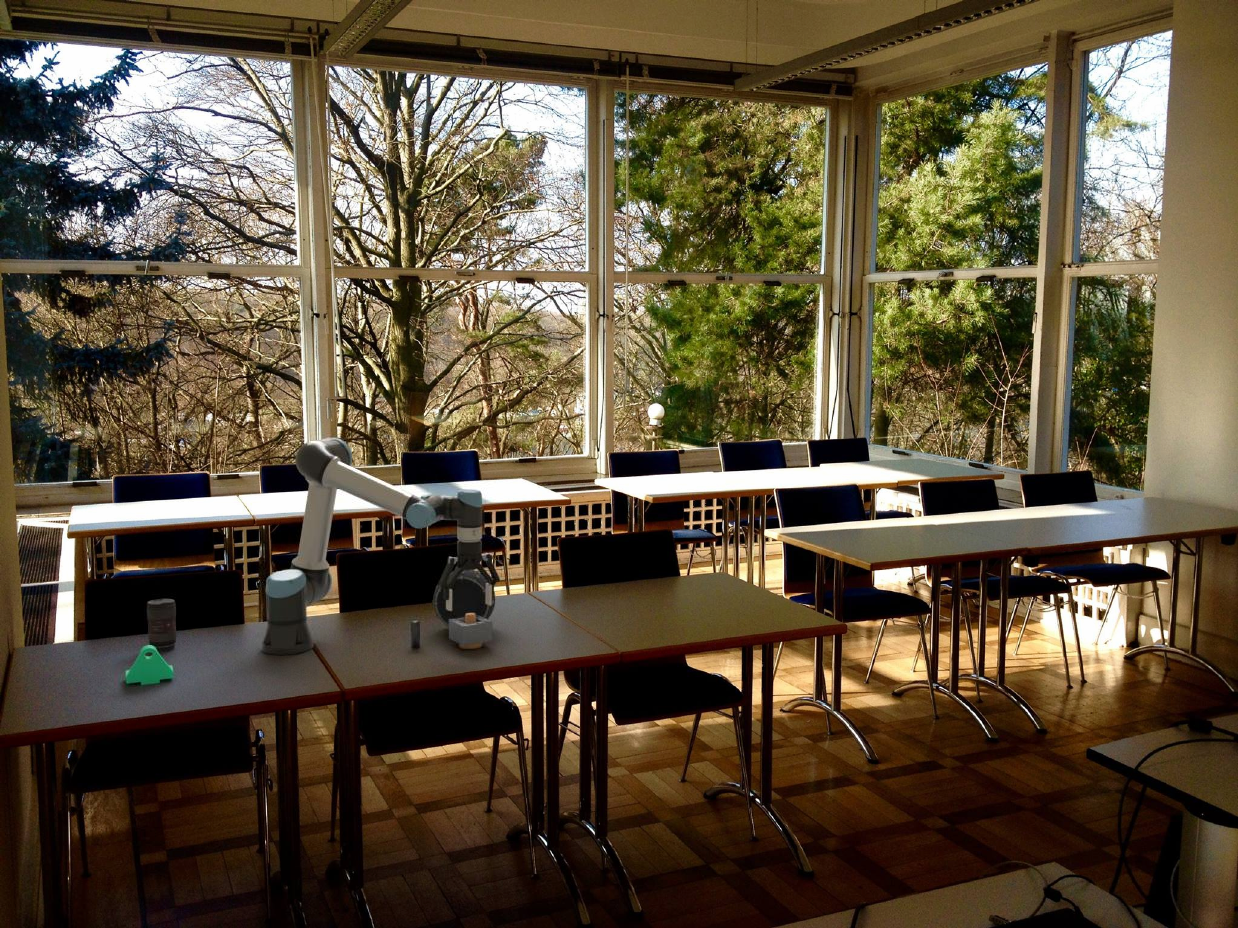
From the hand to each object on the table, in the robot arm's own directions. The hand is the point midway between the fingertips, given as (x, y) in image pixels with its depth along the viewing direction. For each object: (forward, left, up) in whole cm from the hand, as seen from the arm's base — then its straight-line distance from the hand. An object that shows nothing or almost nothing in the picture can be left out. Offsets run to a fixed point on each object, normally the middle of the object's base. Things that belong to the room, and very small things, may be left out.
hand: (469, 607), depth 330 cm
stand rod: (-17, 0, -12) cm, 21 cm away
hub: (0, 0, -12) cm, 12 cm away
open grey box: (0, 0, -10) cm, 10 cm away
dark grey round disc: (-3, +19, -12) cm, 23 cm away
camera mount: (-87, -28, -13) cm, 92 cm away
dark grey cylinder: (-94, +3, -12) cm, 94 cm away
